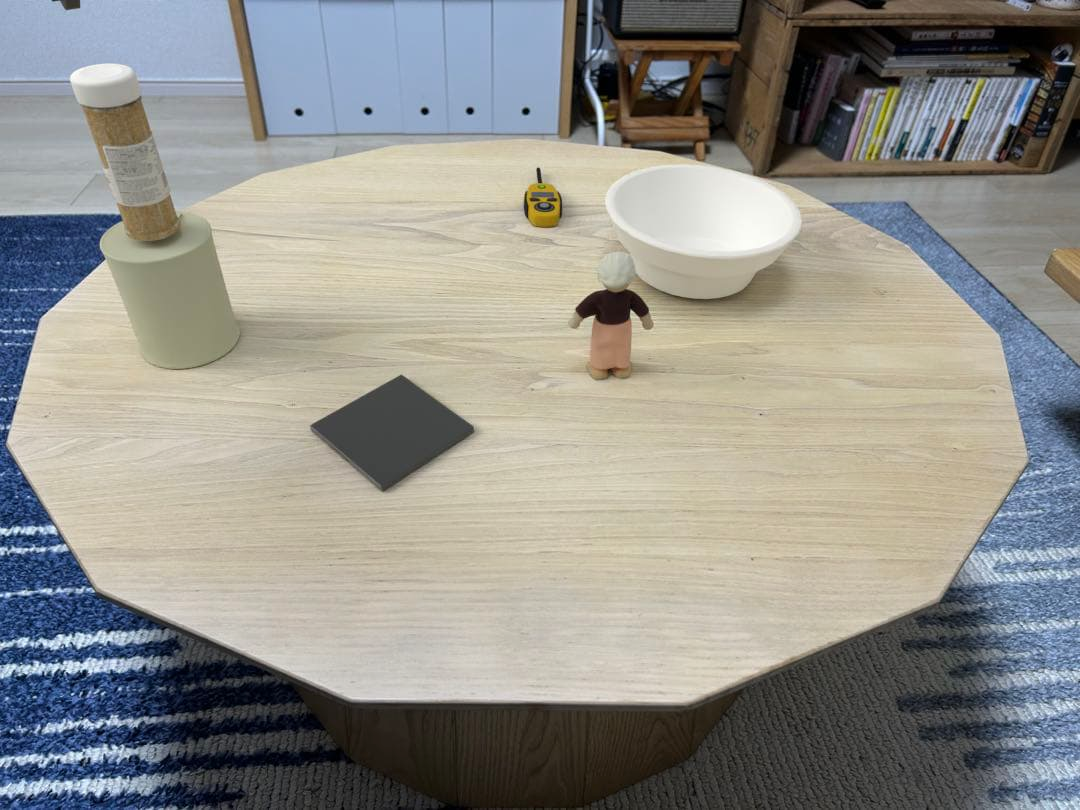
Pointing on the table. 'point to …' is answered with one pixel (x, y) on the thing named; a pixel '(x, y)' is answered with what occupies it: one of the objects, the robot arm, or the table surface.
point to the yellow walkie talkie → (542, 203)
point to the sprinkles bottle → (126, 149)
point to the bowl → (700, 227)
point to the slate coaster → (391, 431)
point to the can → (173, 293)
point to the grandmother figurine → (612, 317)
